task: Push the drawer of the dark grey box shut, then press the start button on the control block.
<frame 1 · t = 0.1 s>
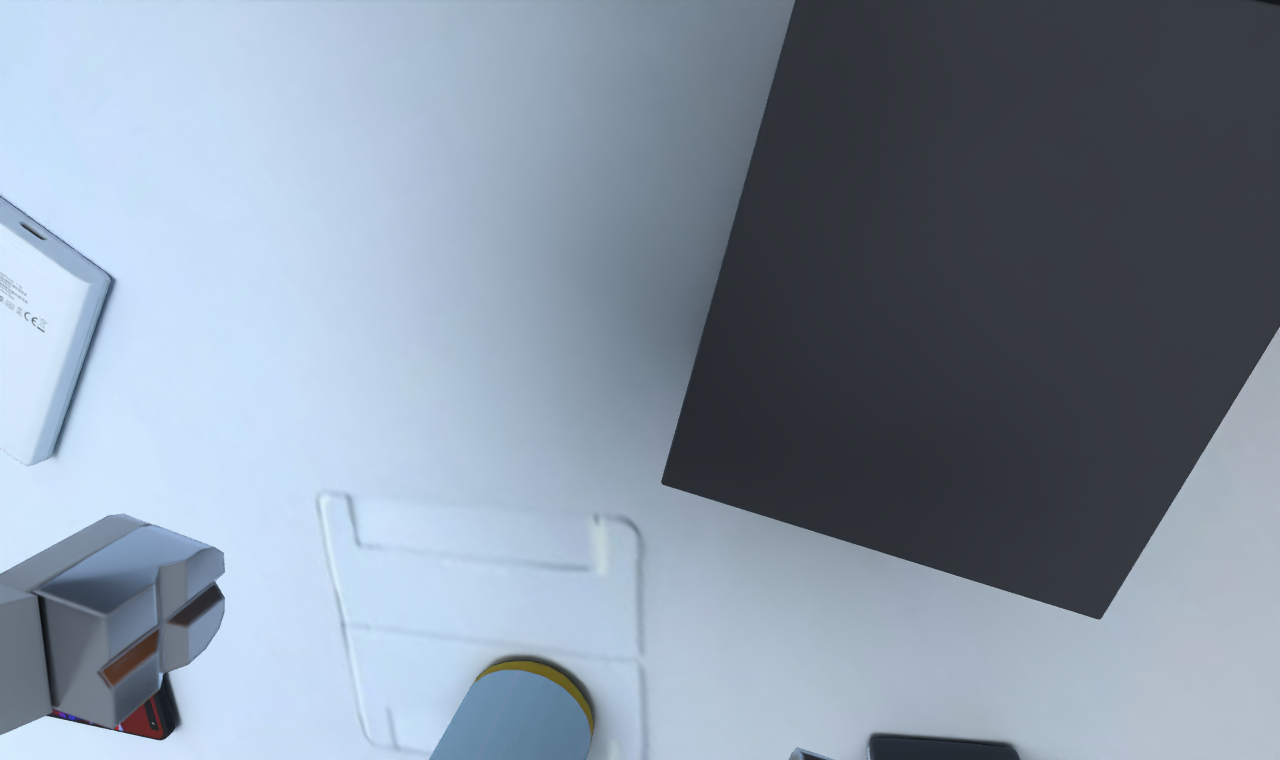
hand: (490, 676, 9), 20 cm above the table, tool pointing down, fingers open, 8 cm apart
smartphone: (71, 664, 43), on the table
dark grey box: (909, 251, 25), on the table
bottle: (535, 702, 37), on the table
hard drive: (22, 325, 35), on the table
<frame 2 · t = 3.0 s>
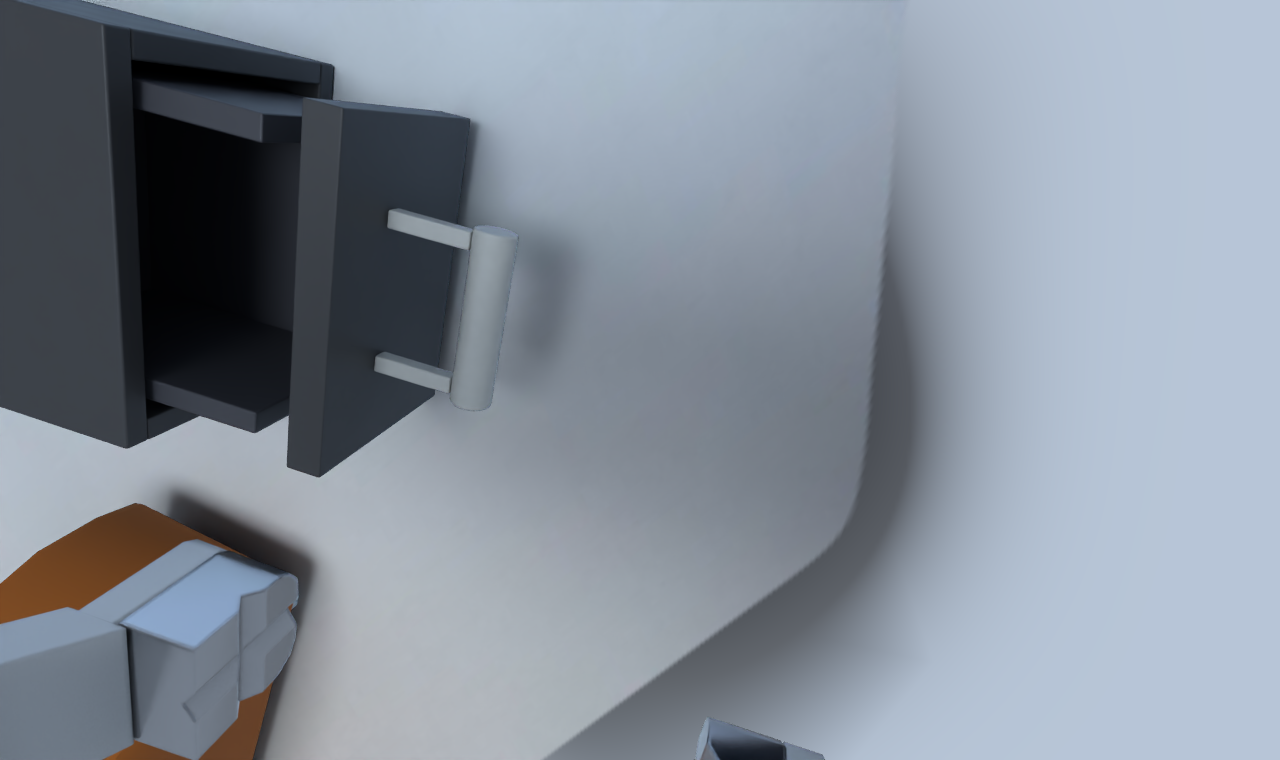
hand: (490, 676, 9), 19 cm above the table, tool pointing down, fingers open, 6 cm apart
alarm clock: (217, 663, 39), on the table
dark grey box: (172, 182, 29), on the table
drawer: (279, 251, 24), point 5 cm above the table, slide at 5.0 cm
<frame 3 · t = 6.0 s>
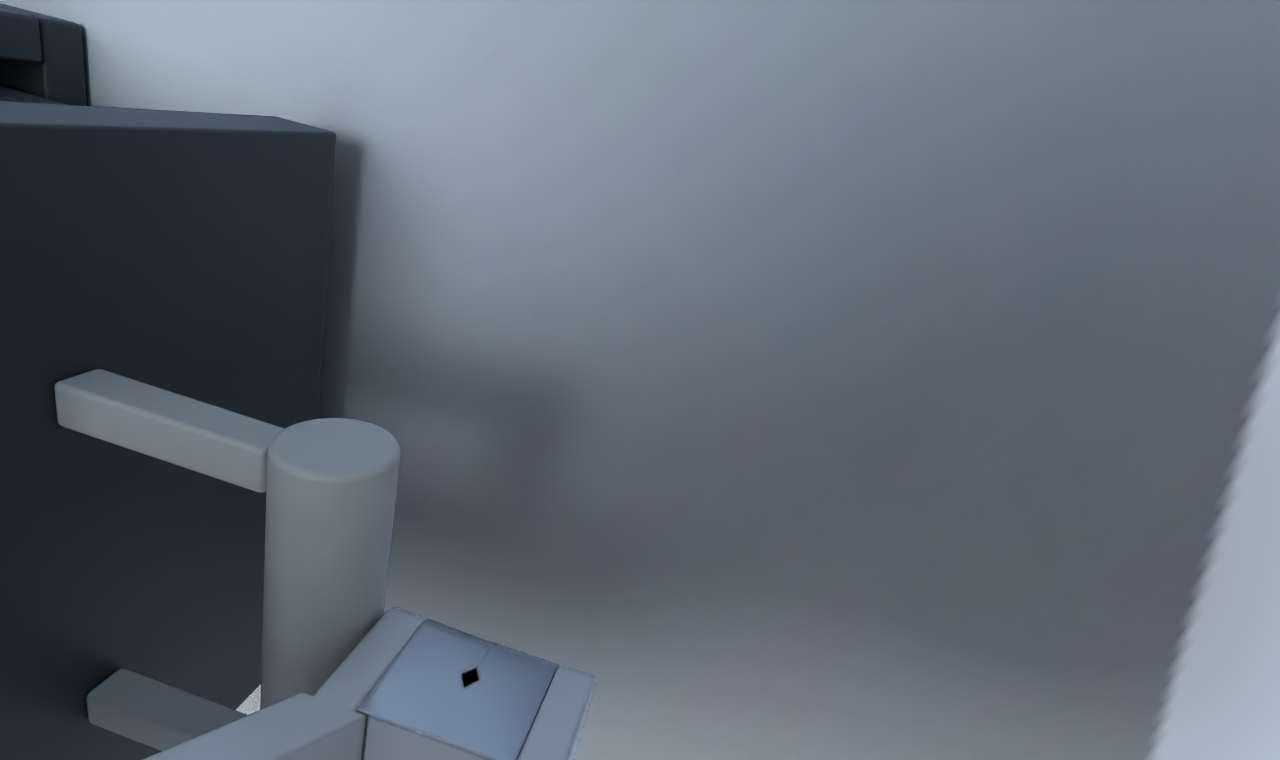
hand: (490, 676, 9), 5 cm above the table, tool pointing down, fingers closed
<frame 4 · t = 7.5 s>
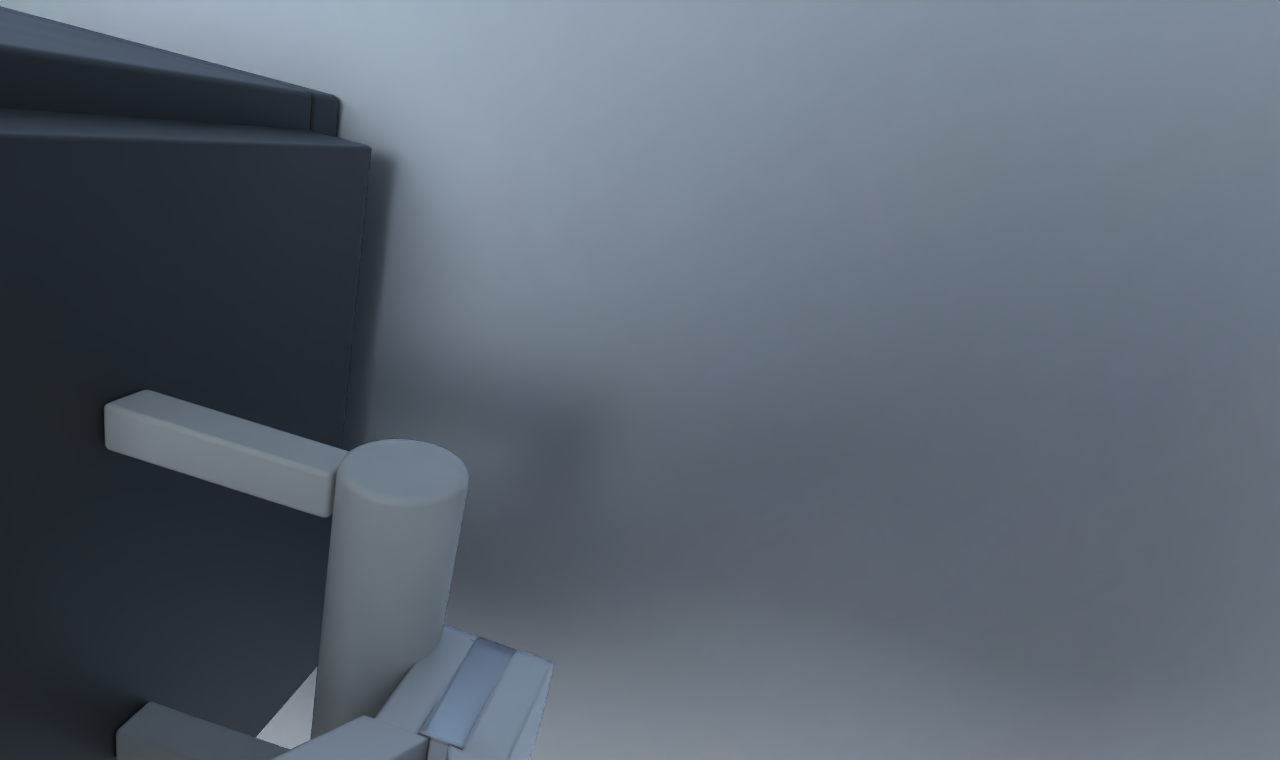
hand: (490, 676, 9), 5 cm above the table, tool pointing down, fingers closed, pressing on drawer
dark grey box: (9, 316, 15), on the table
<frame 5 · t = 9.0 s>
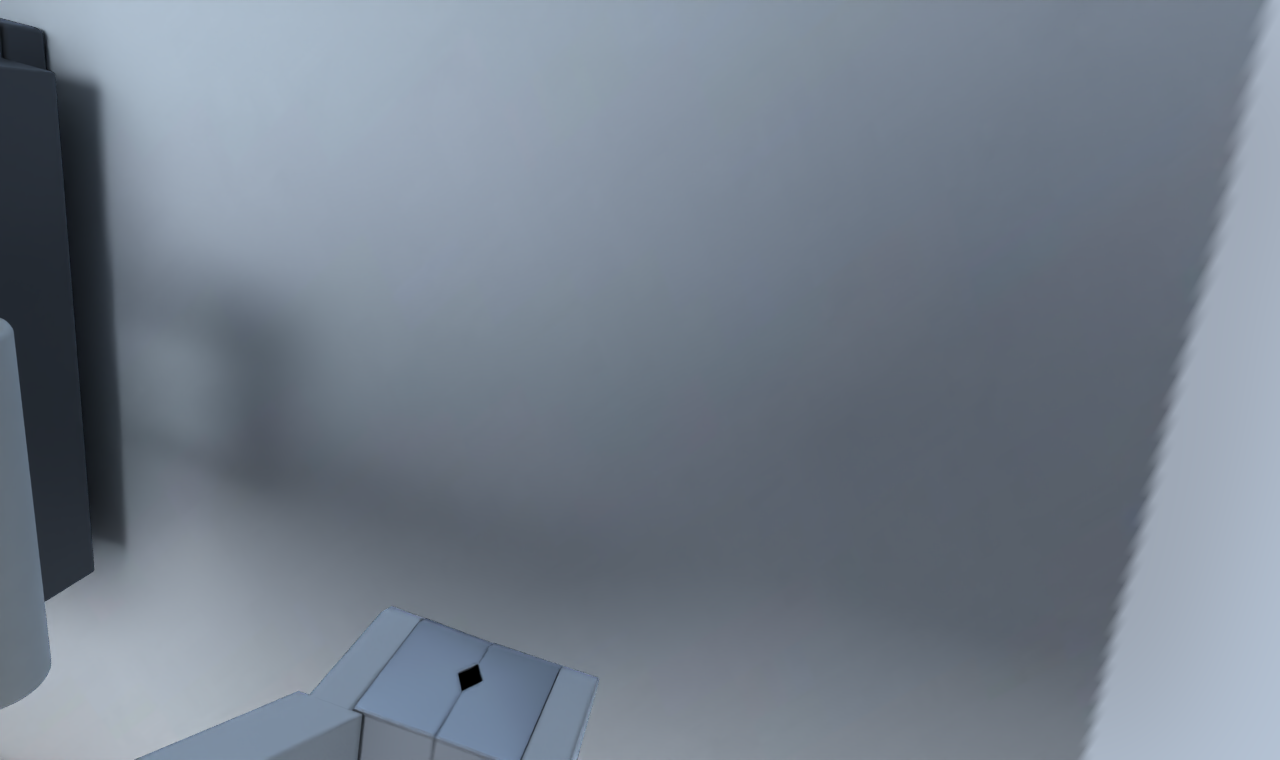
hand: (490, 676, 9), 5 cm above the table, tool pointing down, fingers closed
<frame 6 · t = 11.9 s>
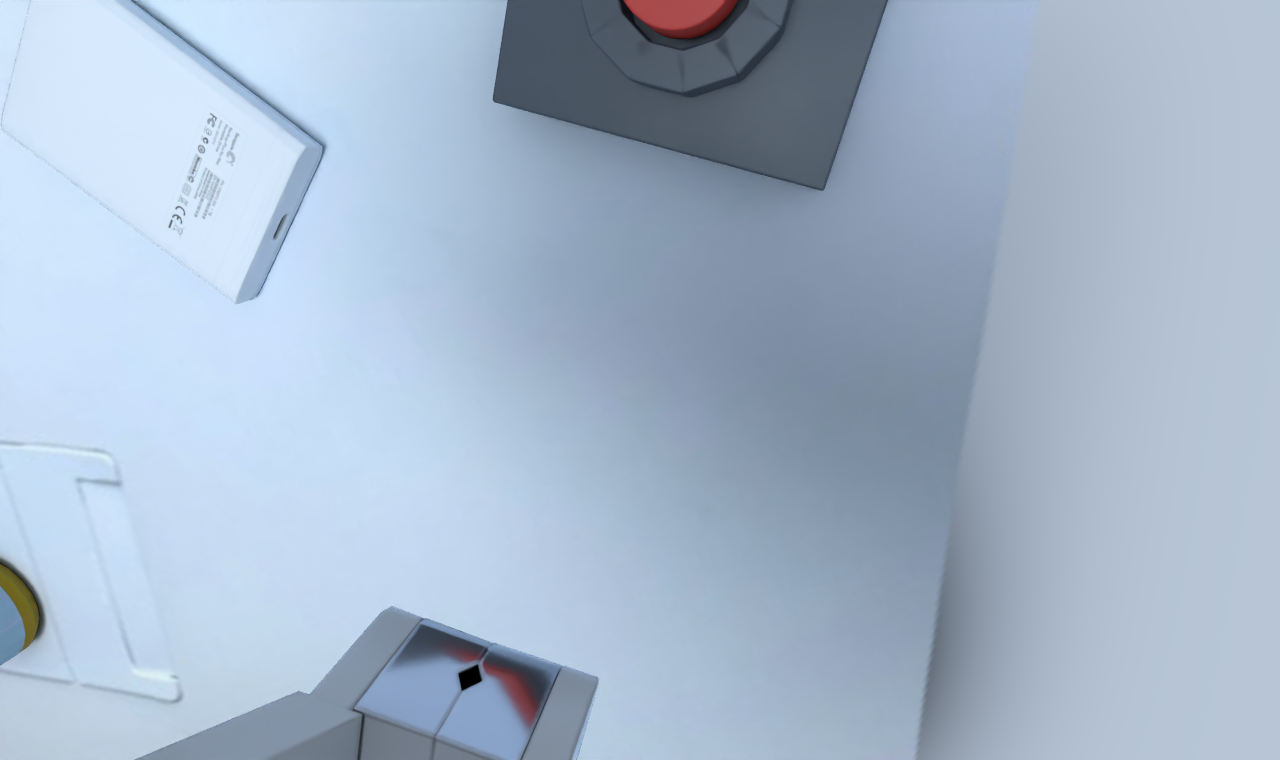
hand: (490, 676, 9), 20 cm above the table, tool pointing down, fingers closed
bottle: (1, 596, 42), on the table
hard drive: (178, 139, 29), on the table
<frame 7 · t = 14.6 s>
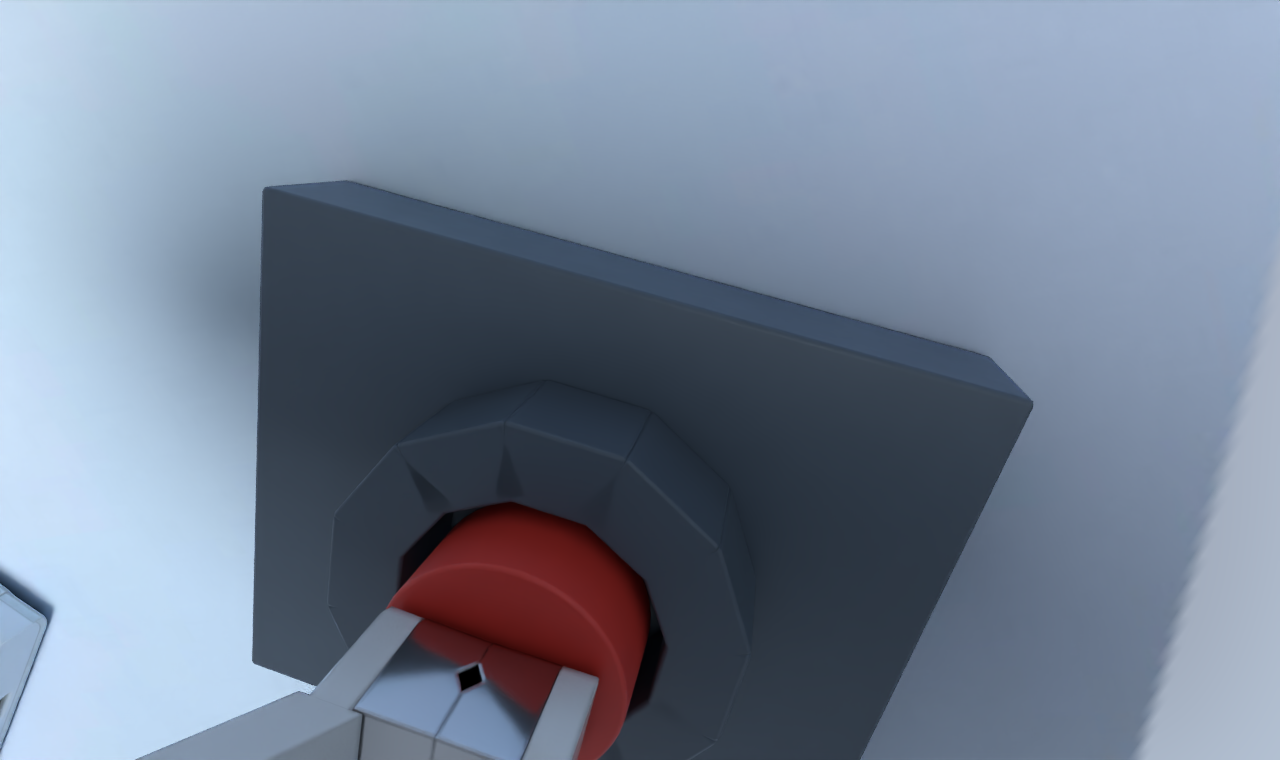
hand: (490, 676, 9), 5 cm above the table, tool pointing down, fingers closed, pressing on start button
start button: (520, 636, 10), point 4 cm above the table, slide at -0.2 cm, touching gripper
control block: (594, 499, 14), on the table
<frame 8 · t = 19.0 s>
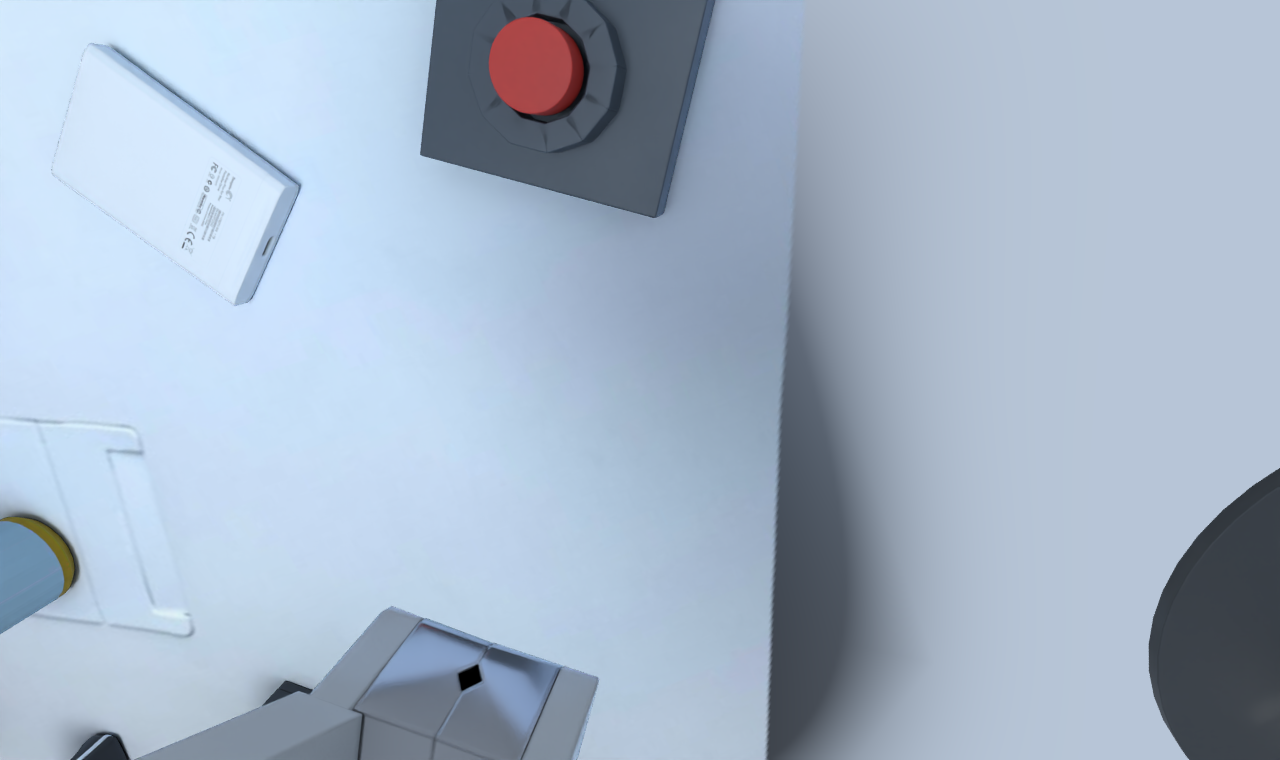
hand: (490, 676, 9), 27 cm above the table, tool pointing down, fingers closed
bottle: (42, 551, 51), on the table
start button: (537, 68, 28), point 4 cm above the table, slide at 0.1 cm
battery charger: (116, 759, 57), on the table
hard drive: (188, 179, 38), on the table
control block: (568, 78, 32), on the table
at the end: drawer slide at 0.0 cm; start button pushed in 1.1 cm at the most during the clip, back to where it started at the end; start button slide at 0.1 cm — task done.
